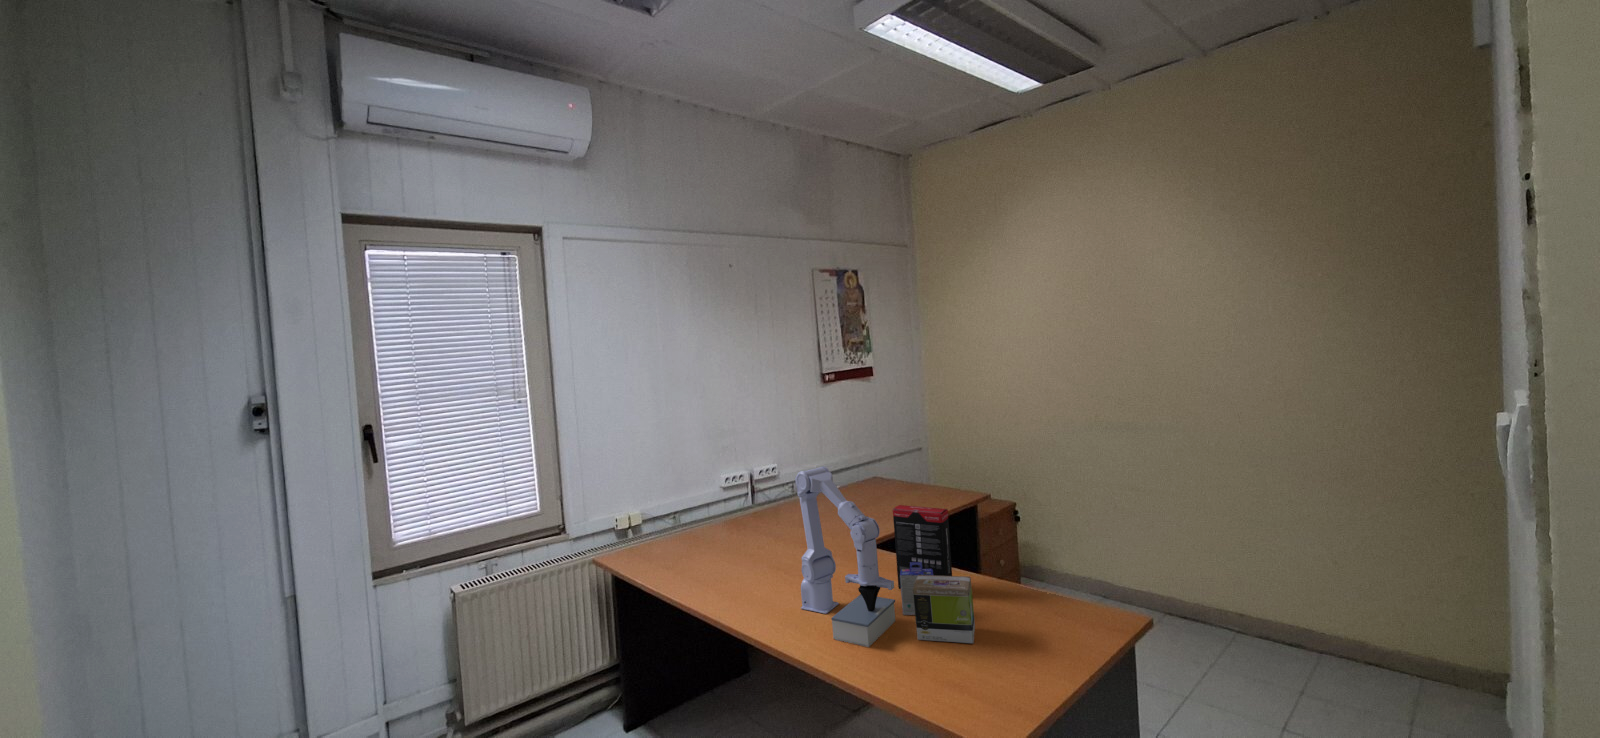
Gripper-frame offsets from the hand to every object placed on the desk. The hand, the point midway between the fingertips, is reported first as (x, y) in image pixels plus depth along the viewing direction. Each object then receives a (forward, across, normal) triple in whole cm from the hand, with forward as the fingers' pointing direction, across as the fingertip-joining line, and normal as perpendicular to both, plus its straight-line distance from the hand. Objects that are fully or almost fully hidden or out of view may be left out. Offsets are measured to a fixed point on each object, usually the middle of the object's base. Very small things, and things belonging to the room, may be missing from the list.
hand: (871, 610), depth 170 cm
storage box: (+6, -3, 0) cm, 7 cm away
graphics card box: (+6, +3, +32) cm, 33 cm away
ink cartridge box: (+6, +7, +17) cm, 19 cm away
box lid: (0, -2, 0) cm, 2 cm away
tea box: (+6, +19, +7) cm, 21 cm away
